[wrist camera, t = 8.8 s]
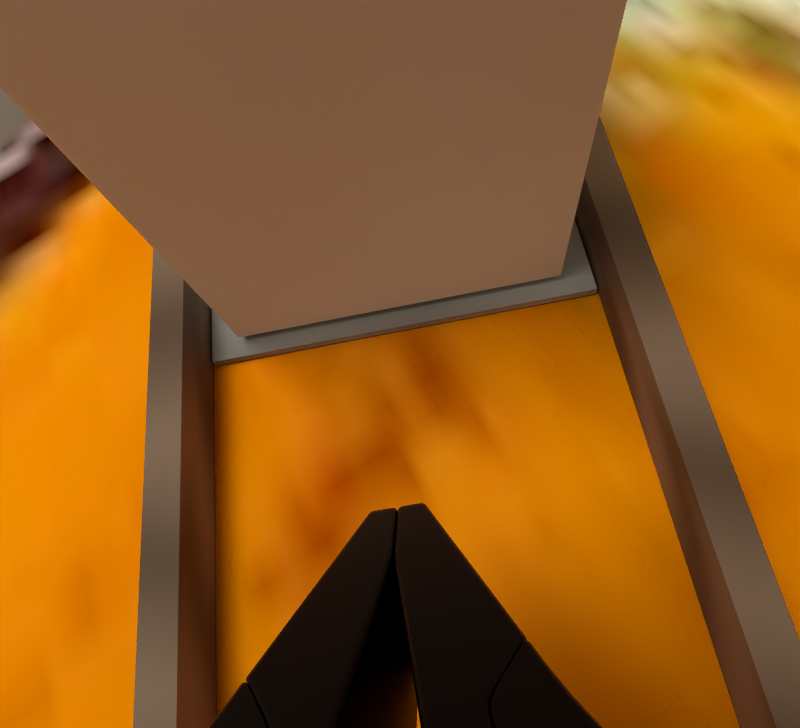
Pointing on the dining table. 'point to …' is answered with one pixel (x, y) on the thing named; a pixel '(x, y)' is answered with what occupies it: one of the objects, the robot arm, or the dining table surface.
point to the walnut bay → (584, 262)
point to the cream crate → (324, 138)
